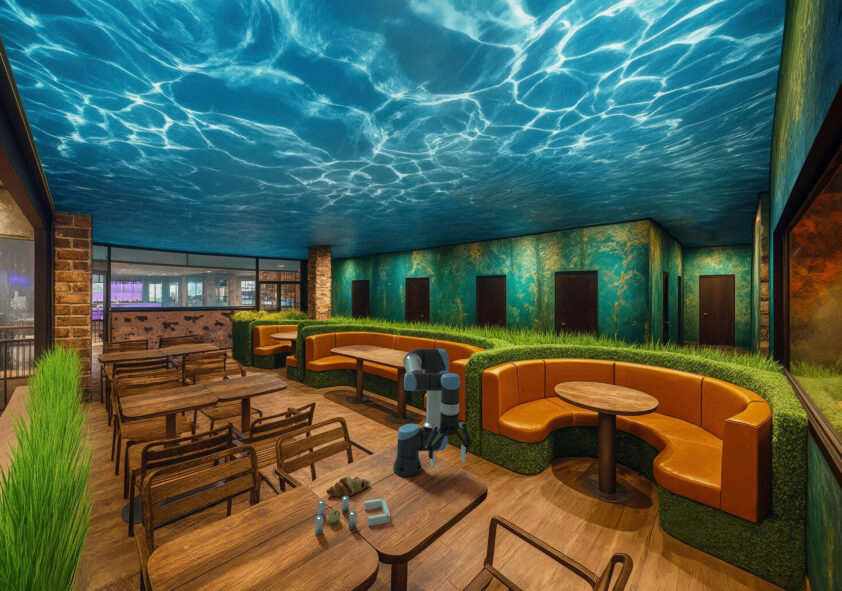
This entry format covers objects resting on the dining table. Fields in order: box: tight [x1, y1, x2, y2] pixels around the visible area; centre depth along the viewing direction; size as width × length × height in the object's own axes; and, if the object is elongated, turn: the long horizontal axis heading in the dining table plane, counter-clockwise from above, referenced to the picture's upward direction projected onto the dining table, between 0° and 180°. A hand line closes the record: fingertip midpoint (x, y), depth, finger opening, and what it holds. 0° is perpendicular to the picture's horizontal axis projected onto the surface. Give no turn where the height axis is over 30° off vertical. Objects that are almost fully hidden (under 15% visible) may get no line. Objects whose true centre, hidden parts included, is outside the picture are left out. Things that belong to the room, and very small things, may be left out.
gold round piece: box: [327, 509, 341, 527], centre depth 143 cm, size 5×5×4 cm
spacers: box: [314, 495, 358, 537], centre depth 143 cm, size 14×16×6 cm
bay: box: [363, 497, 391, 527], centre depth 148 cm, size 12×9×3 cm
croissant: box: [326, 476, 371, 498], centre depth 164 cm, size 21×10×8 cm, turn 119°
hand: (447, 463), depth 141 cm, fingers open, 13 cm apart
